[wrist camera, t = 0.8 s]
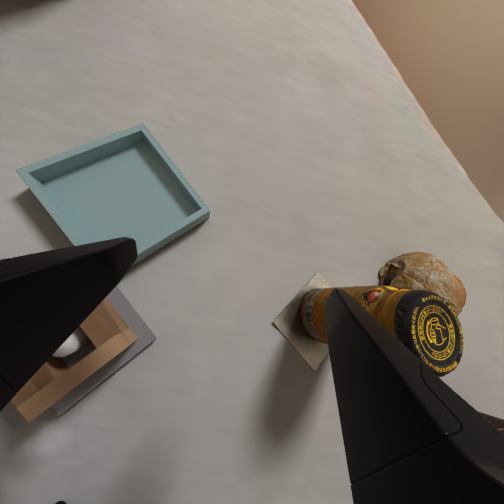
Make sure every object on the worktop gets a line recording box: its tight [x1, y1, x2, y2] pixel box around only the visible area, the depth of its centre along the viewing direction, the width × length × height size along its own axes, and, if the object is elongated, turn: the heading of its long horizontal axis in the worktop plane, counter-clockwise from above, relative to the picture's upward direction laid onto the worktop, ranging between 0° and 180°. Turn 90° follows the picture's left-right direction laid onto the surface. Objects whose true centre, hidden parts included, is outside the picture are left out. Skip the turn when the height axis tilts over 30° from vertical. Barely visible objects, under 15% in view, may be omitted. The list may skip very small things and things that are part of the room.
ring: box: [11, 298, 138, 423], centre depth 14 cm, size 6×6×4 cm
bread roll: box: [380, 252, 466, 315], centre depth 26 cm, size 10×10×8 cm
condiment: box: [274, 272, 463, 377], centre depth 17 cm, size 7×8×12 cm
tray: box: [16, 124, 210, 266], centre depth 19 cm, size 11×11×2 cm
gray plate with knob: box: [51, 286, 156, 416], centre depth 15 cm, size 8×8×3 cm
